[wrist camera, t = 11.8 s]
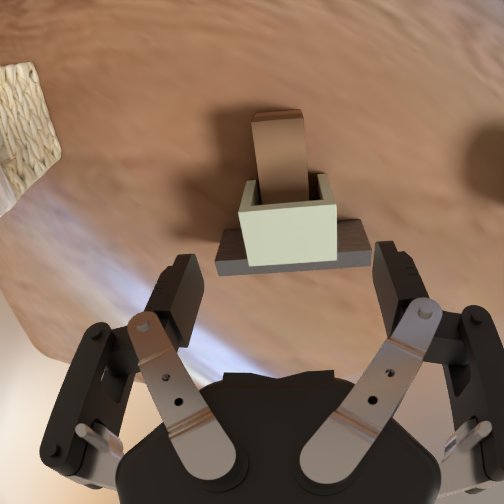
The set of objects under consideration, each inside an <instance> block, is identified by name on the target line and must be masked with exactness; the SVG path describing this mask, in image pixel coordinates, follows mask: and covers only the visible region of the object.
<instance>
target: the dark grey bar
mask: <svg viewBox="0 0 504 504" xmlns="http://www.w3.org/2000/svg"><path fill="white" fill-rule="evenodd" d="M371 254H372V249H371V246H370V244H369V241H368V238H367V235H366V233H365V230H364V227H363V225H362V222H361V219H359V220H344V221H337V260H334V261H320V262H306V263H292V264H278V265H263V266H249V263H248V258H247V253H246V248H245V243H244V239H243V234H242V229H231V230H224V232H223V235H222V238H221V242H220V245H219V248H218V252H217V255H216V258H215V265H216V268H217V272H218V275H219V276H231V275H247V274H263V273H279V272H294V271H308V270H322V269H335V268H348V267H361V266H370V265H371Z"/></svg>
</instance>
